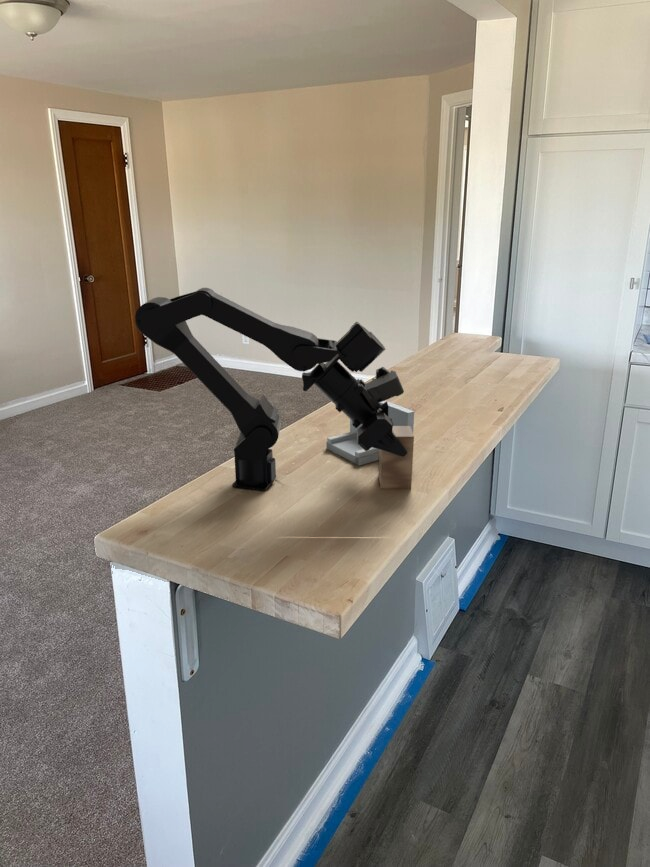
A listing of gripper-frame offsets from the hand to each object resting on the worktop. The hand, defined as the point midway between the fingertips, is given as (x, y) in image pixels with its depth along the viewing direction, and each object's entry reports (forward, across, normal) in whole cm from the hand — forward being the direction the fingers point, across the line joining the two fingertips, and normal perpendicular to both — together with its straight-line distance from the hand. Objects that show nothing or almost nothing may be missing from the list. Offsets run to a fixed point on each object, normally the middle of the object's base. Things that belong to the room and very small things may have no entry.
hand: (403, 448), depth 116 cm
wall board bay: (0, +15, +10) cm, 18 cm away
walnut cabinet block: (+4, 0, +6) cm, 7 cm away
